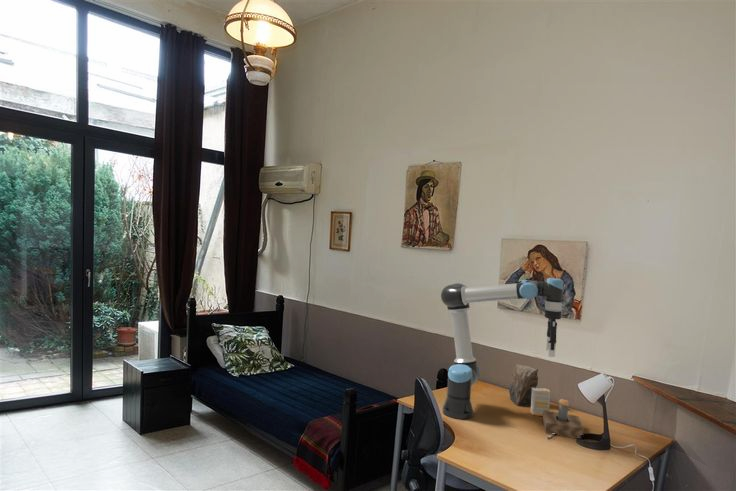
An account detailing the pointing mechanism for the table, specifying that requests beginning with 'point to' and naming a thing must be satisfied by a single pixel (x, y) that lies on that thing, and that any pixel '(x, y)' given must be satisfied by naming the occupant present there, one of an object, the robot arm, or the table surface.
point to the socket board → (562, 425)
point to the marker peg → (563, 410)
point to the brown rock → (523, 384)
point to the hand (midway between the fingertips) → (550, 353)
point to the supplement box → (540, 401)
